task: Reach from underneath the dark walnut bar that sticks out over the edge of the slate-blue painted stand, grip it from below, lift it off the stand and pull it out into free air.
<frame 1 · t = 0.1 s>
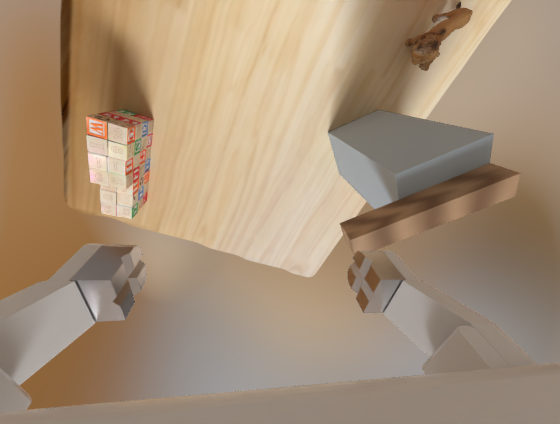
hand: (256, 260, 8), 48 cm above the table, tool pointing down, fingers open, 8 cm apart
bar: (412, 203, 32), point 29 cm above the table, touching stand
stand: (357, 143, 56), on the table
stack of blocks: (136, 159, 52), on the table
lion figurine: (423, 39, 46), on the table
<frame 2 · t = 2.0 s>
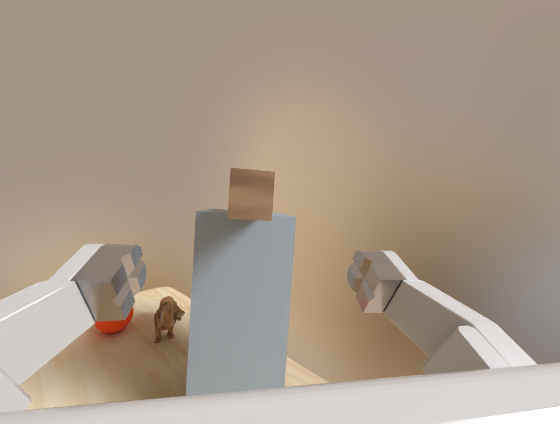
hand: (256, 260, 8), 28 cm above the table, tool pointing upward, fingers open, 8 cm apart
bar: (247, 213, 28), point 29 cm above the table, touching stand
clementine: (111, 332, 48), on the table
stand: (235, 399, 33), on the table
lion figurine: (167, 332, 49), on the table
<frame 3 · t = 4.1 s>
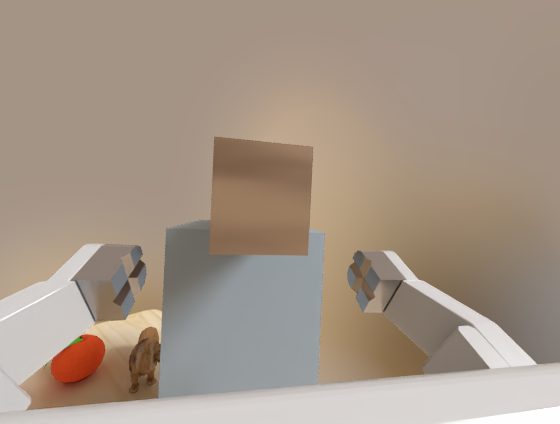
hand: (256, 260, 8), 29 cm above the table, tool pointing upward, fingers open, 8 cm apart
bar: (249, 228, 18), point 29 cm above the table, touching stand
clementine: (74, 380, 37), on the table
lion figurine: (147, 375, 39), on the table
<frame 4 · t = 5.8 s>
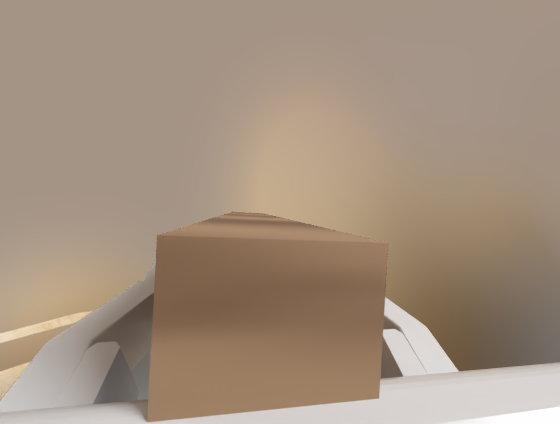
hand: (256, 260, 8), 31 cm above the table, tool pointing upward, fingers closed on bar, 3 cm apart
bar: (248, 276, 14), point 29 cm above the table, touching gripper, stand
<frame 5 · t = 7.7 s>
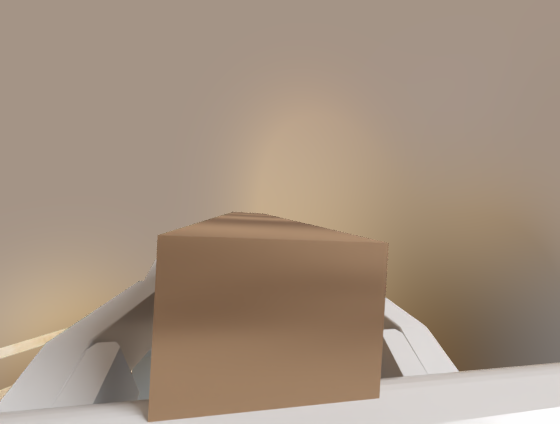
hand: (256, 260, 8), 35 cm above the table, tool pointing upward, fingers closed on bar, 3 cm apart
bar: (248, 276, 14), point 33 cm above the table, touching gripper
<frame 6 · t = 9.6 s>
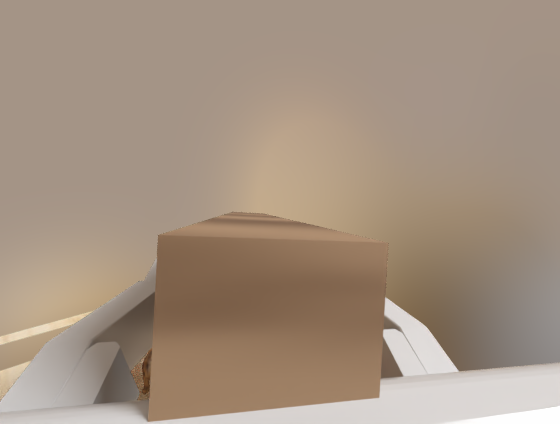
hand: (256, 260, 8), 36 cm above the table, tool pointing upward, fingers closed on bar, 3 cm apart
bar: (248, 276, 14), point 33 cm above the table, touching gripper
lion figurine: (156, 378, 47), on the table
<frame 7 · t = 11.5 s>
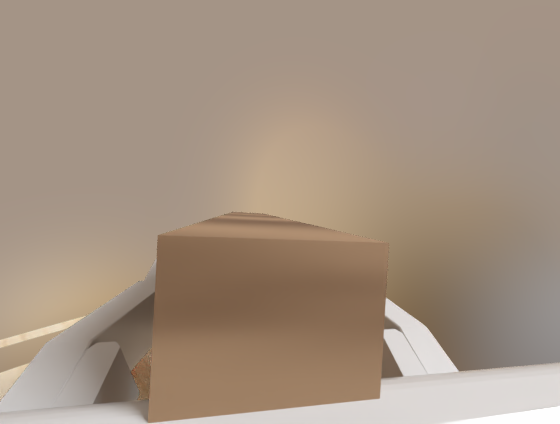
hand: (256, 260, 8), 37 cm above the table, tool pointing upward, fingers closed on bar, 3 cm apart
bar: (248, 276, 14), point 35 cm above the table, touching gripper
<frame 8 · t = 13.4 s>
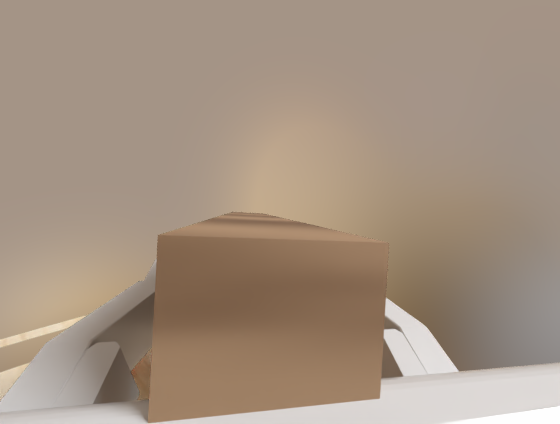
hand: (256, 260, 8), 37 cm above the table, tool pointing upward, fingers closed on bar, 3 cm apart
bar: (248, 276, 14), point 35 cm above the table, touching gripper
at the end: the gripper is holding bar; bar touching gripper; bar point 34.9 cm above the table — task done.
